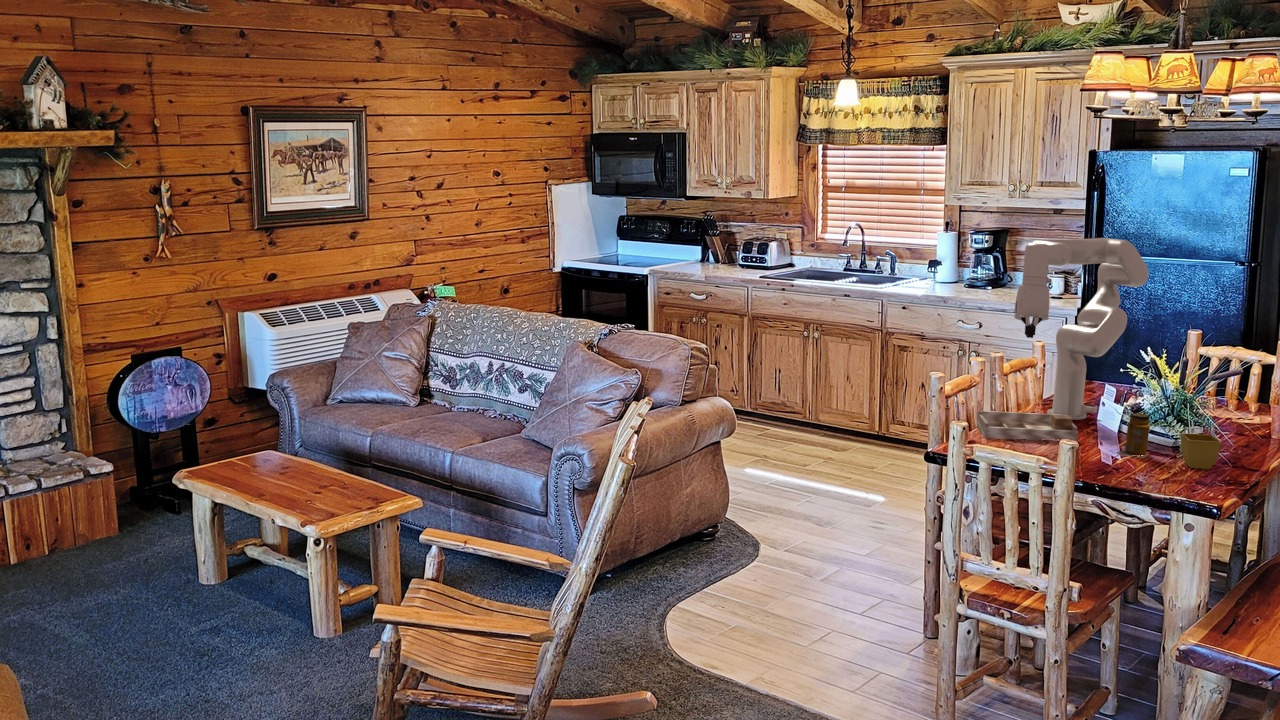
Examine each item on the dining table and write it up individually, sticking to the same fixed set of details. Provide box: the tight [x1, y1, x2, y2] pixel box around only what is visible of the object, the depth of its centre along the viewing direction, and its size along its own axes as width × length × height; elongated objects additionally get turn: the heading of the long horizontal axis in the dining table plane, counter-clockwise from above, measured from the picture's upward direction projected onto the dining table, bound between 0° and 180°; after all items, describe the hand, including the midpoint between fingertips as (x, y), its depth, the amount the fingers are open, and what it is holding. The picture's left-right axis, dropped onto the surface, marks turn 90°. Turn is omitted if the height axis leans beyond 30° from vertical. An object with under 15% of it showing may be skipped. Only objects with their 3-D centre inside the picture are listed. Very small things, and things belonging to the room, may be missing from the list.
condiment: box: [1116, 412, 1151, 459], centre depth 338 cm, size 7×8×12 cm
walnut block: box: [1051, 415, 1073, 430], centre depth 356 cm, size 5×5×4 cm
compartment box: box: [976, 410, 1079, 443], centre depth 358 cm, size 28×14×6 cm, turn 84°
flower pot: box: [1180, 432, 1222, 470], centre depth 326 cm, size 9×9×9 cm
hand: (1029, 337), depth 368 cm, fingers closed
